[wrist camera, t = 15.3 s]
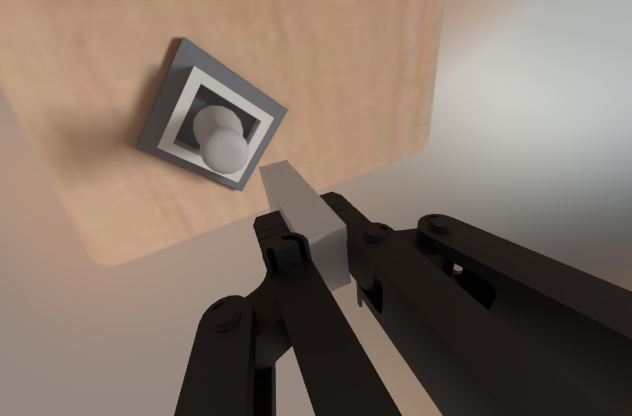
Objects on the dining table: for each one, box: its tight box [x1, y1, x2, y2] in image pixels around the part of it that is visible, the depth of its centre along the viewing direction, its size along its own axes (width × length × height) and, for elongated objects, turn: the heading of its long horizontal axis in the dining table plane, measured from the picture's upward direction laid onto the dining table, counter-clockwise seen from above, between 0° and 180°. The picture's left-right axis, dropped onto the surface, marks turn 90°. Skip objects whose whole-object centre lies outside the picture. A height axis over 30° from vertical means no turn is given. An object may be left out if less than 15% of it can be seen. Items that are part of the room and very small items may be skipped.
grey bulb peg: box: [193, 106, 249, 174], centre depth 27 cm, size 6×6×13 cm
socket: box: [136, 37, 288, 191], centre depth 31 cm, size 14×14×4 cm
